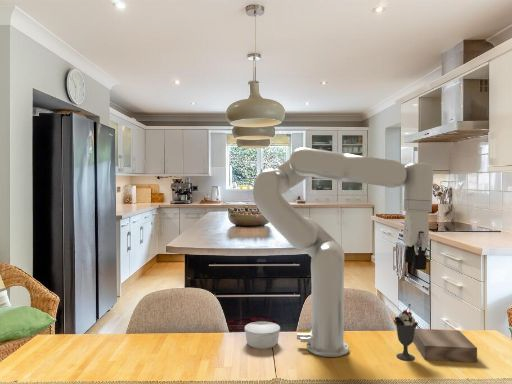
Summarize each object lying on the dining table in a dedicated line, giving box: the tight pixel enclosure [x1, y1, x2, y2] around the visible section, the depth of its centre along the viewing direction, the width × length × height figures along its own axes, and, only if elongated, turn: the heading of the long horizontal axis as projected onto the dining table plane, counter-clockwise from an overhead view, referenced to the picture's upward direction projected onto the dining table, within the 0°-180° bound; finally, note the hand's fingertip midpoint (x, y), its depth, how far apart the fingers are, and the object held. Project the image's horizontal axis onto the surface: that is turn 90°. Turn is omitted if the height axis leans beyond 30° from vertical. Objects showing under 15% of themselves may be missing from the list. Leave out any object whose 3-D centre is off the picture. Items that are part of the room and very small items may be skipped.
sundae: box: [393, 303, 419, 362], centre depth 118 cm, size 7×7×15 cm
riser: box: [412, 328, 478, 363], centre depth 123 cm, size 14×14×4 cm
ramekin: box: [244, 321, 281, 350], centre depth 129 cm, size 11×11×5 cm
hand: (414, 265), depth 118 cm, fingers open, 9 cm apart
